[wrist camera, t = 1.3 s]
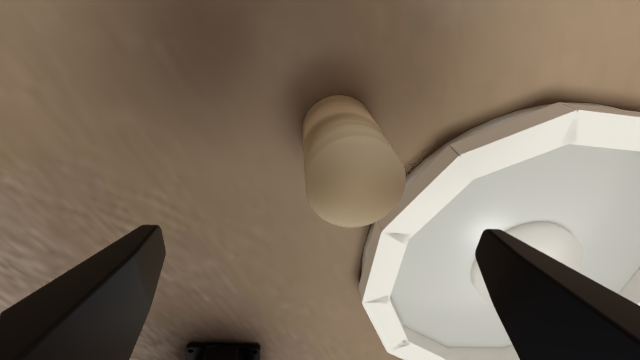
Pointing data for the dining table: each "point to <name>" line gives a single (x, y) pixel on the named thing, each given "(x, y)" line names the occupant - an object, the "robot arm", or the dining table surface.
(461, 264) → the ring tray
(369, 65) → the dining table surface
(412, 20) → the dining table surface
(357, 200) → the tan rounded cylinder
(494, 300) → the robot arm
